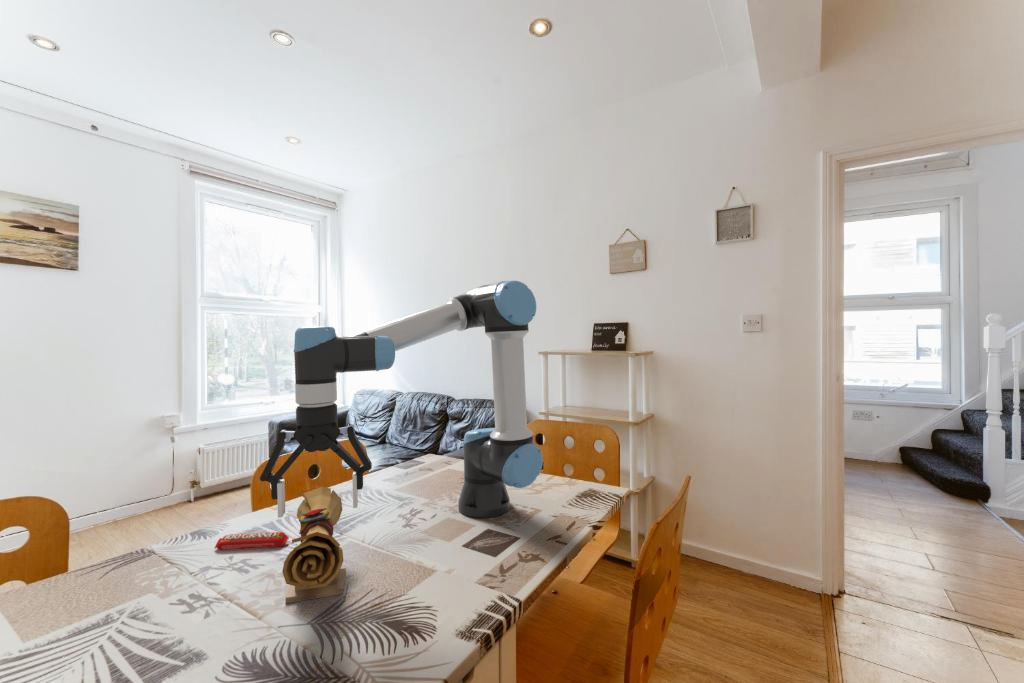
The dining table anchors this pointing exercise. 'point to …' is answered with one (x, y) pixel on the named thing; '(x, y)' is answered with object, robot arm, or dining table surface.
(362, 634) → the dining table surface
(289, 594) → the ridge block
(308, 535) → the scroll
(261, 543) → the candy bar
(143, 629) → the dining table surface
